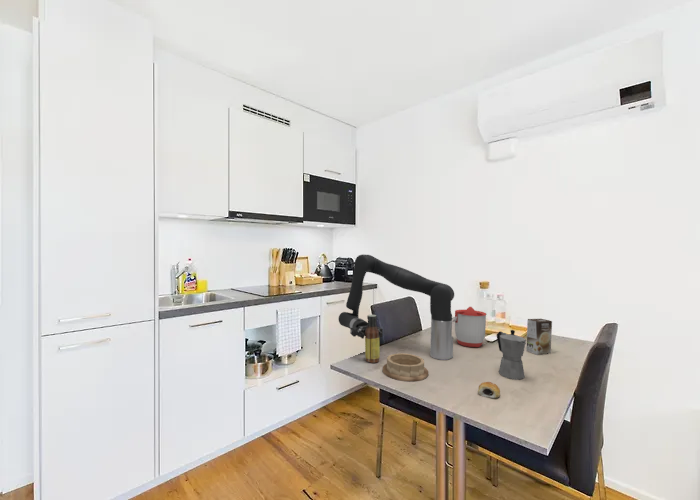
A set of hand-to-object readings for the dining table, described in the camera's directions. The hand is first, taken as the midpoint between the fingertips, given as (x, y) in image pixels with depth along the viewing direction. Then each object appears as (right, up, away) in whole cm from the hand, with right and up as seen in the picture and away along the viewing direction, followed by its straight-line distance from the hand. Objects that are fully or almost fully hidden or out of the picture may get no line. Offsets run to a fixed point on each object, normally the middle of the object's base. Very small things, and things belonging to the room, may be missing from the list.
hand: (372, 335), depth 138 cm
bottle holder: (+12, -11, -12) cm, 20 cm away
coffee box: (+83, -13, +18) cm, 86 cm away
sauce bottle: (0, -11, 0) cm, 11 cm away
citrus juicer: (+52, -13, +29) cm, 61 cm away
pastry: (+38, -13, -29) cm, 49 cm away
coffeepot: (+54, -13, -11) cm, 57 cm away
